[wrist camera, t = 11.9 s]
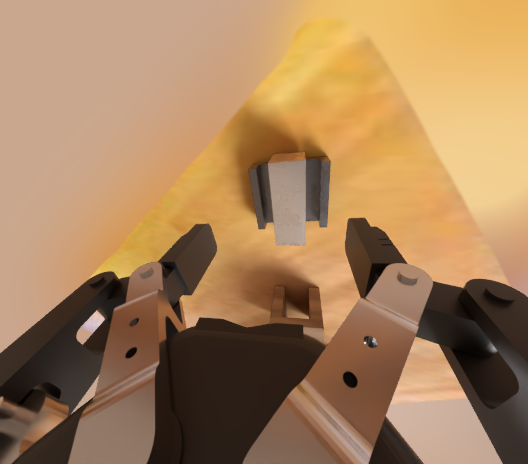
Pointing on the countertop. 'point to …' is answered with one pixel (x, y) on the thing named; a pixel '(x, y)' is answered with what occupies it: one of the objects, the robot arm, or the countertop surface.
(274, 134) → the countertop surface
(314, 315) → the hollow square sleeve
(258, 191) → the grey channel block
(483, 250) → the countertop surface
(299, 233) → the shiny metal block
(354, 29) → the countertop surface
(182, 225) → the countertop surface
